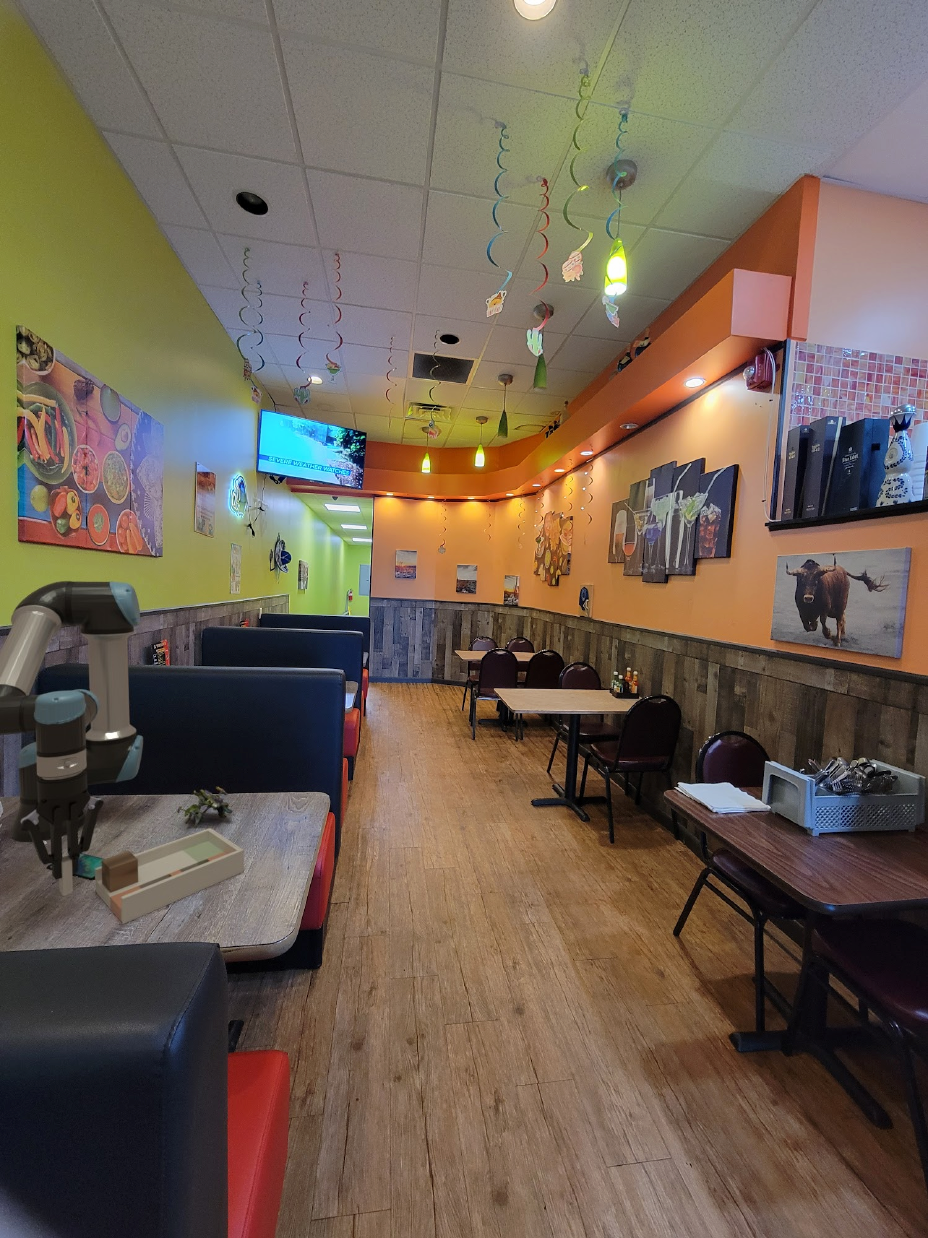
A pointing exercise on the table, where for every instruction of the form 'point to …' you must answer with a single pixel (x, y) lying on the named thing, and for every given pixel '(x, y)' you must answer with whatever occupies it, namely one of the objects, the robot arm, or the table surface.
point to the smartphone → (86, 866)
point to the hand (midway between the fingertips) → (66, 891)
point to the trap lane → (173, 873)
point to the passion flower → (211, 801)
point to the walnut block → (119, 871)
